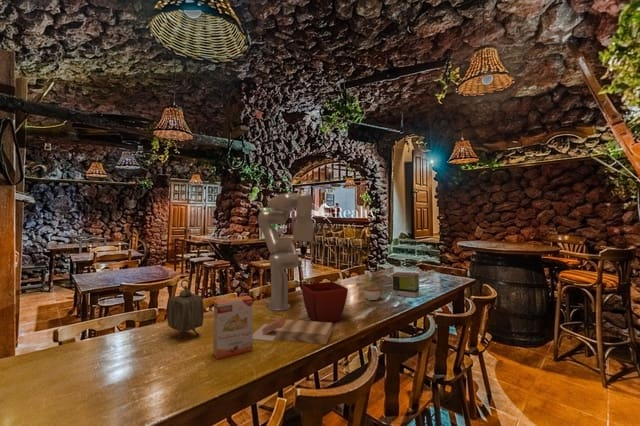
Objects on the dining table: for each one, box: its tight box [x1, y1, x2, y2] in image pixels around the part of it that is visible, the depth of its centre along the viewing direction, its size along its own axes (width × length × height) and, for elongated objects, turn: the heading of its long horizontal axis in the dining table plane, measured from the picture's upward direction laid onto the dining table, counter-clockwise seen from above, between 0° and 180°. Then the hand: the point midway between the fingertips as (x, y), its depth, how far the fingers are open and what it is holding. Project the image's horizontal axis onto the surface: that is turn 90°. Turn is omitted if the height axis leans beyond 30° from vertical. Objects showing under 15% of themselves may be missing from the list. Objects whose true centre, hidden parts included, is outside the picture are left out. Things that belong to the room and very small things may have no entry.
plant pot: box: [300, 281, 349, 323], centre depth 155 cm, size 19×19×17 cm
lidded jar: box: [363, 284, 381, 301], centre depth 190 cm, size 11×11×9 cm
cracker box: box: [212, 295, 254, 360], centre depth 117 cm, size 14×6×21 cm, turn 122°
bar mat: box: [253, 323, 278, 342], centre depth 137 cm, size 11×18×1 cm, turn 168°
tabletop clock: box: [166, 279, 205, 339], centre depth 133 cm, size 14×9×25 cm, turn 56°
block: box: [262, 316, 286, 335], centre depth 135 cm, size 9×6×2 cm, turn 78°
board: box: [275, 318, 333, 345], centre depth 133 cm, size 22×14×4 cm, turn 78°
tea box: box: [392, 271, 420, 299], centre depth 201 cm, size 15×10×15 cm, turn 58°
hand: (303, 254), depth 151 cm, fingers closed
